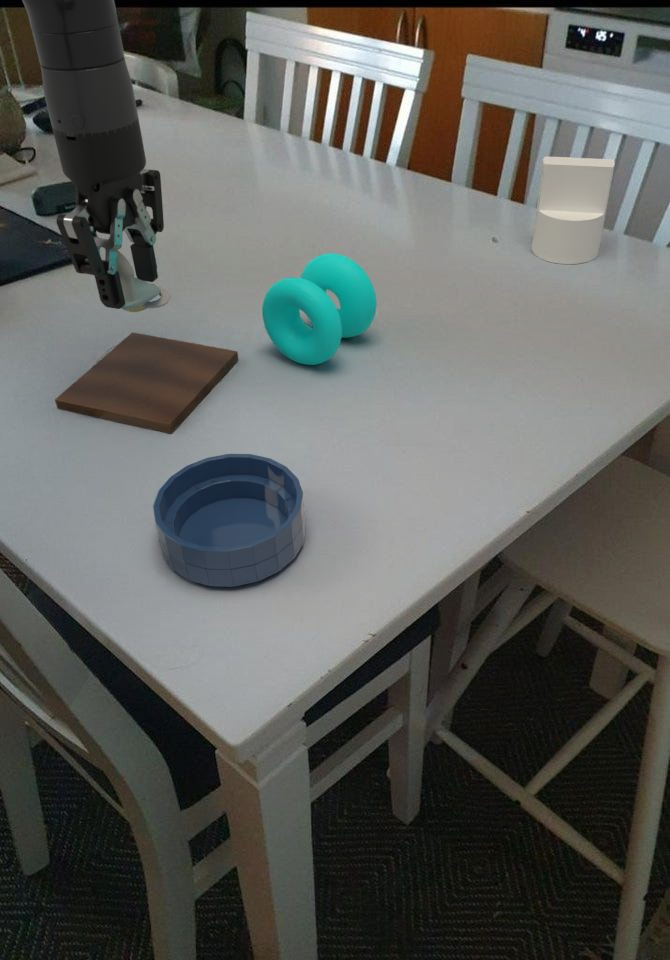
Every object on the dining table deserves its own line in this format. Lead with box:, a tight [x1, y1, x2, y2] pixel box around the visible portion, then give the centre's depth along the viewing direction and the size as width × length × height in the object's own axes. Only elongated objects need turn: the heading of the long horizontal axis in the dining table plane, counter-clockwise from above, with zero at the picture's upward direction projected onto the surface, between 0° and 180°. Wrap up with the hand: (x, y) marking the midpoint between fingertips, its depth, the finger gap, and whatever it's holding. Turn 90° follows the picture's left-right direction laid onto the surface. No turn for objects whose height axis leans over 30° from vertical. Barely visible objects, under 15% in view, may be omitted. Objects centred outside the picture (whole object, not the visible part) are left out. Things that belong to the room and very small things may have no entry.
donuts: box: [261, 252, 377, 366], centre depth 91 cm, size 10×10×10 cm
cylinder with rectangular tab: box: [531, 156, 616, 265], centre depth 108 cm, size 9×9×12 cm
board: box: [54, 332, 239, 435], centre depth 89 cm, size 15×14×1 cm
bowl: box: [152, 453, 307, 588], centre depth 68 cm, size 12×12×4 cm
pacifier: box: [97, 250, 171, 313], centre depth 82 cm, size 7×6×6 cm
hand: (131, 292), depth 82 cm, fingers closed on pacifier, 5 cm apart
